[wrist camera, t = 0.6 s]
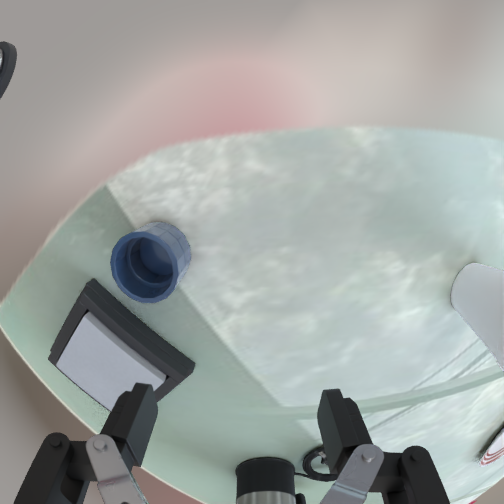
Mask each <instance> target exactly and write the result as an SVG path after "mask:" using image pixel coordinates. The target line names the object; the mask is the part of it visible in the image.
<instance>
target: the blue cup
mask: <svg viewBox="0 0 504 504" xmlns="http://www.w3.org/2000/svg"><path fill="white" fill-rule="evenodd" d="M190 260H191V253H190V245H189V243H188V241H187V239H186V237H185V235H184V234H183V233H182V232H181V231H179V230H178V229H177V228H176V227H175V226H173V225H170V224H168V223H165V222H151V223H149V224H147V225H145V226H143V227H141V228H139V229H137V230H135V231H133V232H131V233H129V234H127V235H125V236H124V237H122V238H121V239H119V241H118V242H117V244H116V245H115V247H114V248H113V251H112V256H111V261H110V264H111V270H112V276H113V278H114V280H115V281H116V283H117V285H118V287H119V288H120V289H121V290H122V291H123V292H124V293H125V294H126V295H127V296H128V297H130V298H132V299H134V300H136V301H139V302H141V303H156V302H159V301H161V300H163V299H166V298H167V297H168V296H169V295H170V294H171V293H172V292H173V290H174V289H175V288H176V286H177V285H178V283H179V282H180V280H181V279H182V277H183V276H184V274H185V273H186V271H187V270H188V267H189V264H190Z"/></svg>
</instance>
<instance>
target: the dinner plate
mask: <svg viewBox="0 0 504 504" xmlns="http://www.w3.org/2000/svg"><path fill="white" fill-rule="evenodd" d="M503 455H504V428H503V429H502V430H501V431H500V432H499V433H498V435H497V436H496V437H495V439H494V440H493V441H492V443H491V445H490V446H489V448H488V449H487V450H486V452H485V454H484V455H483V457H482V458H481V460H480V462H479V465H480V466H486V465H488V464H490V463H492V462H494V461H496V460H497V459H499V458H500V457H502V456H503Z"/></svg>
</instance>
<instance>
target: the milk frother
mask: <svg viewBox="0 0 504 504" xmlns="http://www.w3.org/2000/svg"><path fill="white" fill-rule="evenodd" d="M319 455H320V456H321V457H322V460H321V463H322V464H324V463H325V464H327V465H328V462H327V458H326V454H325V449H324V447H322V448H319V449H316V450H314V451H312V452H310V453H309V454H307V455H306V456H305V458H304V460H303V464H302V466H303V469H304V471H305V472H306V473H307V474H308V475H305V474H301V473H296V472H295V468H294V466H293V465H292V464H291V463H290V462H287V461H285V460H282V459H276V458H258V459H253V460H249V461H246V462H244V463H242V464H240V465H239V466H238V467H237V468H236V475H237V497H236V504H306V501H305V496H304V495H303V494H301V493H299V494H295V487H294V475H300V476H304V477H307V478H310V479H313V480H317V481H325V482H328V481H334V480H337V478H338V477H339V476H338V473H337V474H322V473H318V472H316V471H314V470H313V469H312V467H311V461H312V460H313V459H314V458H315V457H317V456H319Z"/></svg>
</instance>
